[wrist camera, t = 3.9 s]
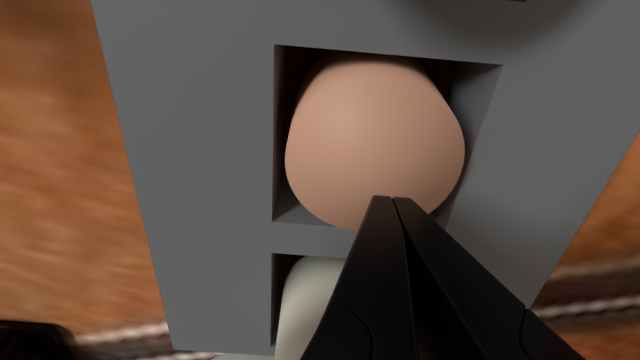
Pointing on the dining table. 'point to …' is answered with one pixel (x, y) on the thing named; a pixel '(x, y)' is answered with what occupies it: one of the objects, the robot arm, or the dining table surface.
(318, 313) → the cream button
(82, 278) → the dining table surface
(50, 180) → the dining table surface
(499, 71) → the console
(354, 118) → the terracotta button
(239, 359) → the grey handled cylinder
